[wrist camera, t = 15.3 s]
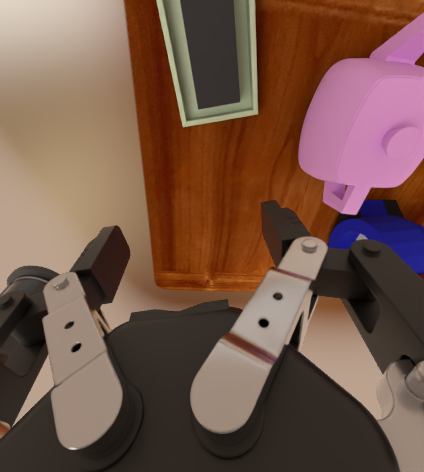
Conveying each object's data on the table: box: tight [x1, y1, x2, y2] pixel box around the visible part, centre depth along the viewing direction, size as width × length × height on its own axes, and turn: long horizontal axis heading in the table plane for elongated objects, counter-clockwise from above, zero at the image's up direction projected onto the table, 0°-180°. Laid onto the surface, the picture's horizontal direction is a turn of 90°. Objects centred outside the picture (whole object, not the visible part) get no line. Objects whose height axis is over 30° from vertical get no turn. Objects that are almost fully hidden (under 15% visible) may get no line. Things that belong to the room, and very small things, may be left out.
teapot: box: [298, 13, 424, 215], centre depth 26 cm, size 20×12×13 cm, turn 174°
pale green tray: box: [157, 0, 258, 127], centre depth 25 cm, size 10×15×2 cm, turn 9°
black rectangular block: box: [180, 0, 240, 109], centre depth 24 cm, size 11×5×4 cm, turn 9°
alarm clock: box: [328, 200, 424, 280], centre depth 36 cm, size 12×12×15 cm
